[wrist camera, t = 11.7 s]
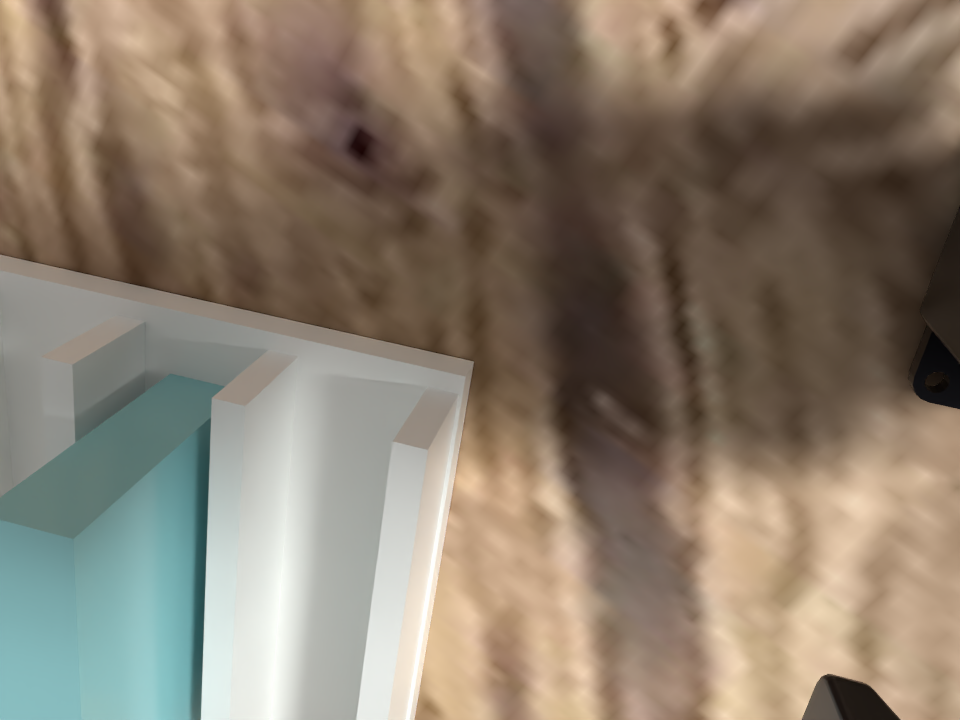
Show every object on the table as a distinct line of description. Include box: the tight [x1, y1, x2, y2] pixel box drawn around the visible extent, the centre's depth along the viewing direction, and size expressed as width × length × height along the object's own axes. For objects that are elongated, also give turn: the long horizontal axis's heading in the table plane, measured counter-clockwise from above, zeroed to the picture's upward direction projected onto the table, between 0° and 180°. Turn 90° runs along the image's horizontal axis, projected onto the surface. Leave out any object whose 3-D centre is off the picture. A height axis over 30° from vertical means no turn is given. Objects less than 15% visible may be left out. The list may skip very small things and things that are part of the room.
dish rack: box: [0, 255, 474, 720], centre depth 24 cm, size 14×14×4 cm
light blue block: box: [0, 374, 225, 720], centre depth 21 cm, size 2×10×7 cm, turn 171°
